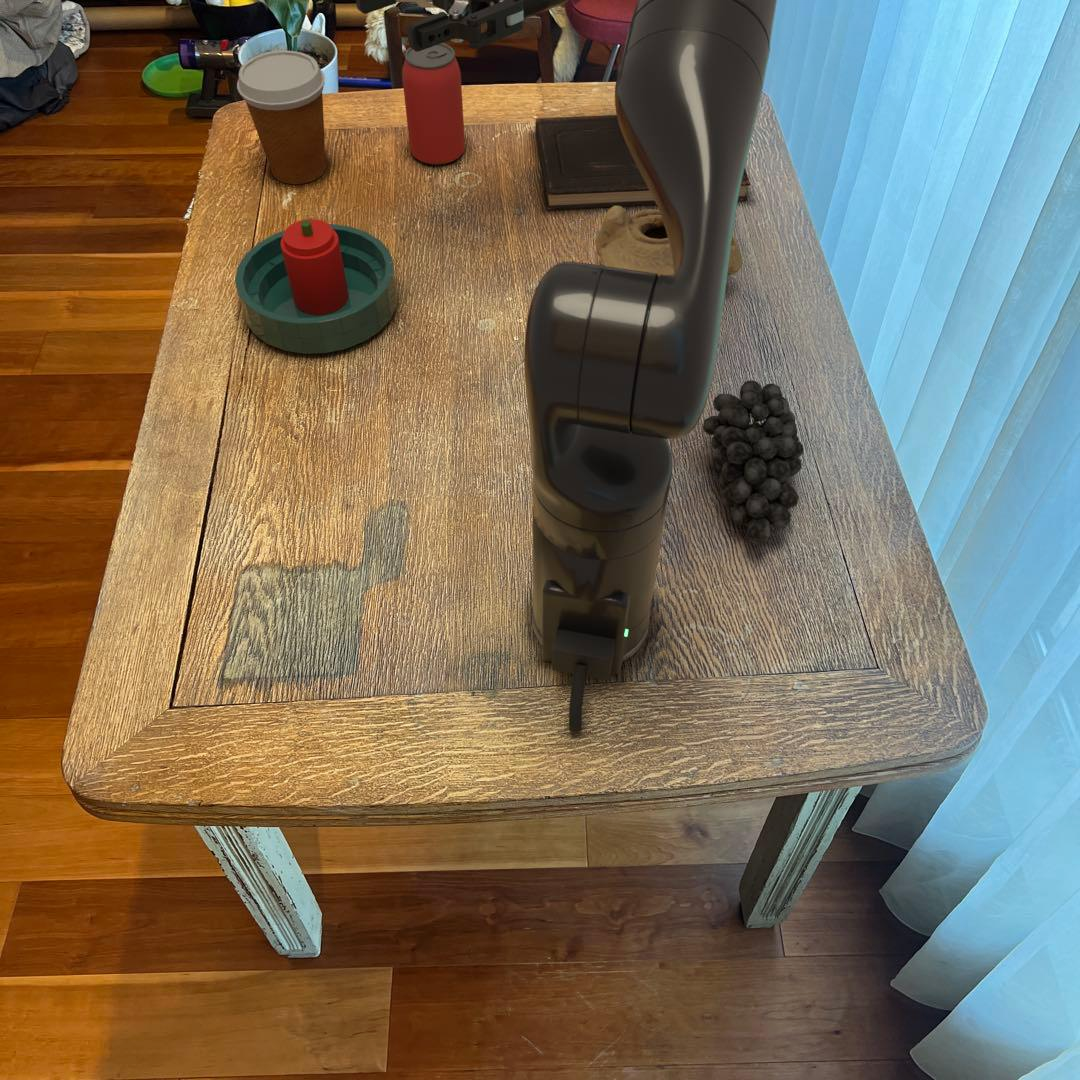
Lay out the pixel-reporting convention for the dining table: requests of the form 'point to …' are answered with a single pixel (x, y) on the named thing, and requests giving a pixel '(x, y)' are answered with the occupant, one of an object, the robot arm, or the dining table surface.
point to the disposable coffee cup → (287, 112)
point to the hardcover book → (591, 165)
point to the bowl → (305, 333)
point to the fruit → (756, 457)
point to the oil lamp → (643, 243)
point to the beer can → (434, 104)
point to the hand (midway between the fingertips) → (383, 19)
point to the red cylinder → (314, 267)
